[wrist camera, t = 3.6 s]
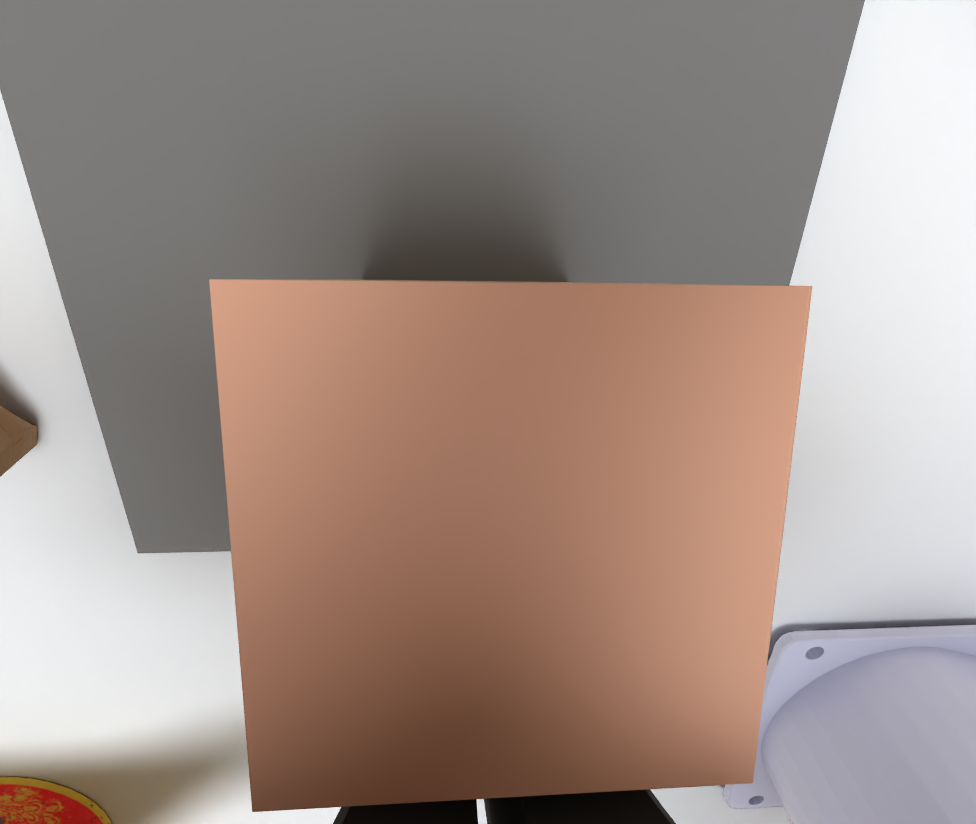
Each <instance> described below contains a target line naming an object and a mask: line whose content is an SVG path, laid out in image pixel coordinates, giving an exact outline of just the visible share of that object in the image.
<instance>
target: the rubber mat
mask: <svg viewBox="0 0 976 824" xmlns="http://www.w3.org/2000/svg"><path fill="white" fill-rule="evenodd" d="M864 1H865V0H0V90H1V93H2V97H3V100H4V103H5V107H6V110H7V114H8V117H9V120H10V124H11V127H12V130H13V134H14V137H15V141H16V144H17V147H18V151H19V154H20V157H21V161H22V164H23V167H24V171H25V174H26V178H27V181H28V184H29V188H30V191H31V194H32V198H33V201H34V205H35V208H36V211H37V215H38V218H39V221H40V225H41V228H42V232H43V235H44V238H45V242H46V245H47V248H48V252H49V255H50V258H51V262H52V265H53V269H54V272H55V275H56V279H57V282H58V285H59V289H60V292H61V296H62V299H63V302H64V306H65V309H66V312H67V316H68V319H69V322H70V326H71V329H72V333H73V336H74V339H75V343H76V346H77V349H78V353H79V356H80V360H81V363H82V366H83V370H84V373H85V376H86V380H87V383H88V386H89V390H90V393H91V397H92V400H93V403H94V407H95V410H96V413H97V417H98V420H99V424H100V427H101V430H102V434H103V437H104V440H105V444H106V447H107V450H108V454H109V457H110V461H111V464H112V467H113V471H114V474H115V477H116V481H117V484H118V488H119V491H120V494H121V498H122V501H123V504H124V508H125V511H126V514H127V518H128V521H129V525H130V528H131V531H132V535H133V538H134V541H135V545H136V548H137V552H138V553H171V552H214V551H231V542H230V530H229V517H228V505H227V493H226V480H225V468H224V456H223V443H222V431H221V419H220V407H219V394H218V382H217V370H216V357H215V345H214V333H213V320H212V308H211V296H210V283H209V279H256V280H427V281H512V282H589V283H647V284H706V285H764V286H789V284H790V280H791V276H792V273H793V269H794V265H795V261H796V257H797V254H798V250H799V246H800V242H801V239H802V235H803V231H804V227H805V223H806V220H807V216H808V212H809V208H810V205H811V201H812V197H813V193H814V190H815V186H816V182H817V178H818V174H819V171H820V167H821V163H822V159H823V156H824V152H825V148H826V144H827V141H828V137H829V133H830V129H831V125H832V122H833V118H834V114H835V110H836V107H837V103H838V99H839V95H840V92H841V88H842V84H843V80H844V76H845V73H846V69H847V65H848V61H849V58H850V54H851V50H852V46H853V43H854V39H855V35H856V31H857V27H858V24H859V20H860V16H861V12H862V9H863V5H864Z"/></svg>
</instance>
